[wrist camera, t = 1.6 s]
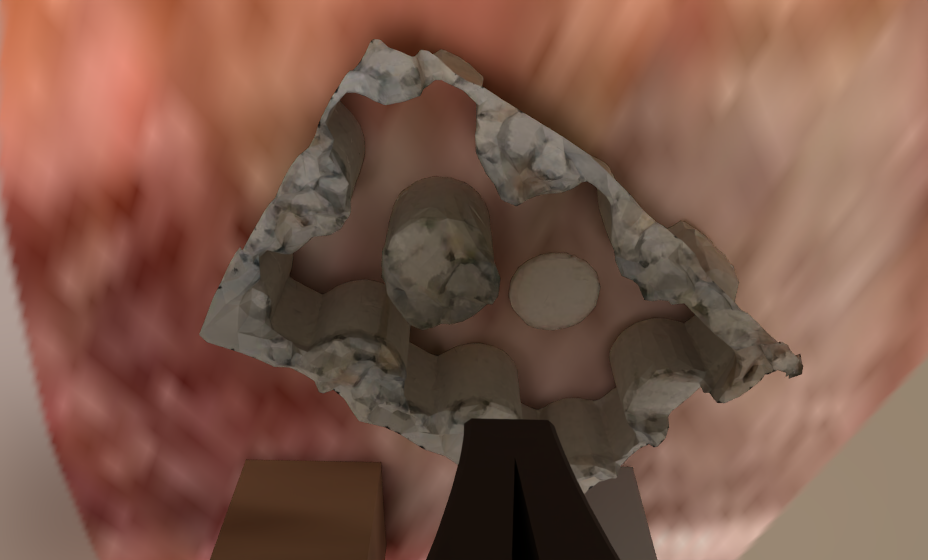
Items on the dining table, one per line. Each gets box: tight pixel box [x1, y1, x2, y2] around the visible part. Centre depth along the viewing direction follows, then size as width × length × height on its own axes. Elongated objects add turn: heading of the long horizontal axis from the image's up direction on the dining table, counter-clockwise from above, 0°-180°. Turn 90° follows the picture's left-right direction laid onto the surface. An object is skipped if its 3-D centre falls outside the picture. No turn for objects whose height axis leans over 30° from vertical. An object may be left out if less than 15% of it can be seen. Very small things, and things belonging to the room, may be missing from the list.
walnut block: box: [210, 460, 386, 560], centre depth 19 cm, size 4×4×4 cm
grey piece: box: [199, 39, 803, 493], centre depth 15 cm, size 11×8×4 cm
